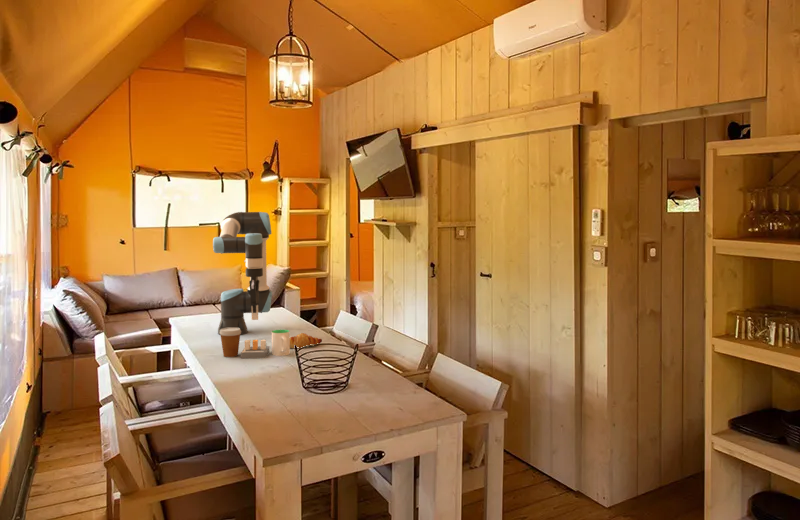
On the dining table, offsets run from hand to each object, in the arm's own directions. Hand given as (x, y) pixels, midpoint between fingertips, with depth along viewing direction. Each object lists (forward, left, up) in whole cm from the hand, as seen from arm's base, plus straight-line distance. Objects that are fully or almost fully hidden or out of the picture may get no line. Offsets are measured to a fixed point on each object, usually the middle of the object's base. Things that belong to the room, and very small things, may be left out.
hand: (255, 319), depth 268 cm
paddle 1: (0, -4, -14) cm, 14 cm away
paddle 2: (0, 0, -14) cm, 14 cm away
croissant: (-16, +19, -17) cm, 30 cm away
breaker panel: (0, 0, -16) cm, 16 cm away
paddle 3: (0, +3, -14) cm, 14 cm away
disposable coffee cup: (0, -11, -17) cm, 20 cm away
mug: (0, +12, -17) cm, 20 cm away
